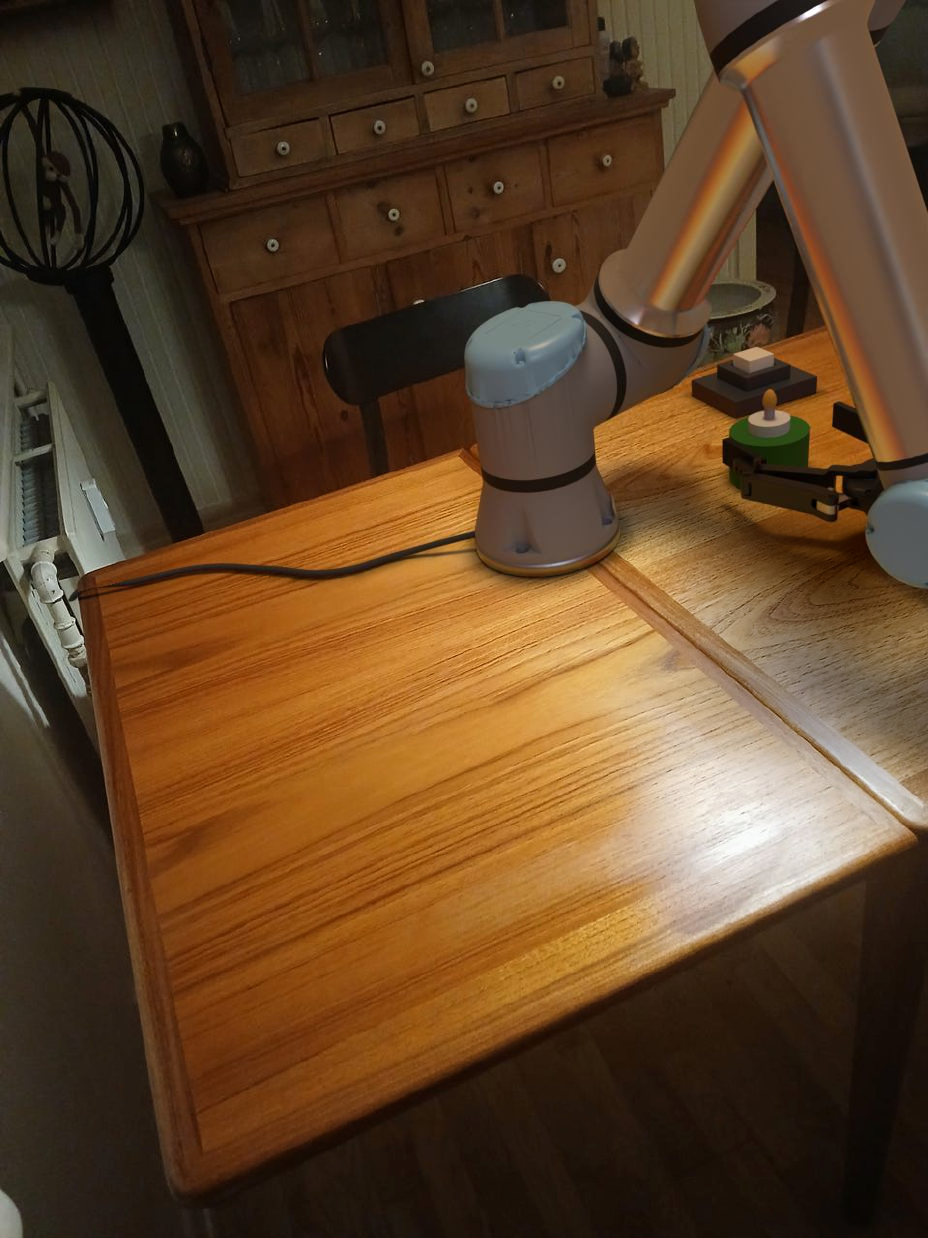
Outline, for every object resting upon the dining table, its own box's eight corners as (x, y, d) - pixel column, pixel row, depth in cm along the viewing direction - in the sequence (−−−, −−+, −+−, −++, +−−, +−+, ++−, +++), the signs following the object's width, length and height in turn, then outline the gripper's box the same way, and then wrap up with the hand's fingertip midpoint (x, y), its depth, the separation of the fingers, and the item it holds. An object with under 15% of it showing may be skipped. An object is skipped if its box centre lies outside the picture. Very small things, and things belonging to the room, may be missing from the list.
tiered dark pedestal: (735, 418, 118) (735, 388, 116) (691, 395, 126) (690, 366, 124) (816, 392, 121) (818, 362, 119) (768, 371, 129) (769, 342, 127)
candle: (780, 500, 100) (782, 411, 95) (714, 482, 106) (712, 396, 100) (822, 468, 104) (827, 381, 99) (756, 453, 110) (758, 369, 104)
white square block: (749, 374, 120) (749, 361, 119) (732, 366, 123) (732, 353, 122) (773, 366, 120) (774, 353, 119) (756, 359, 123) (756, 346, 122)
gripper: (809, 590, 82) (678, 498, 99) (1038, 505, 88) (876, 431, 105) (813, 514, 78) (676, 431, 95) (1053, 429, 83) (882, 365, 101)
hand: (781, 431), depth 100 cm, fingers open, 13 cm apart
